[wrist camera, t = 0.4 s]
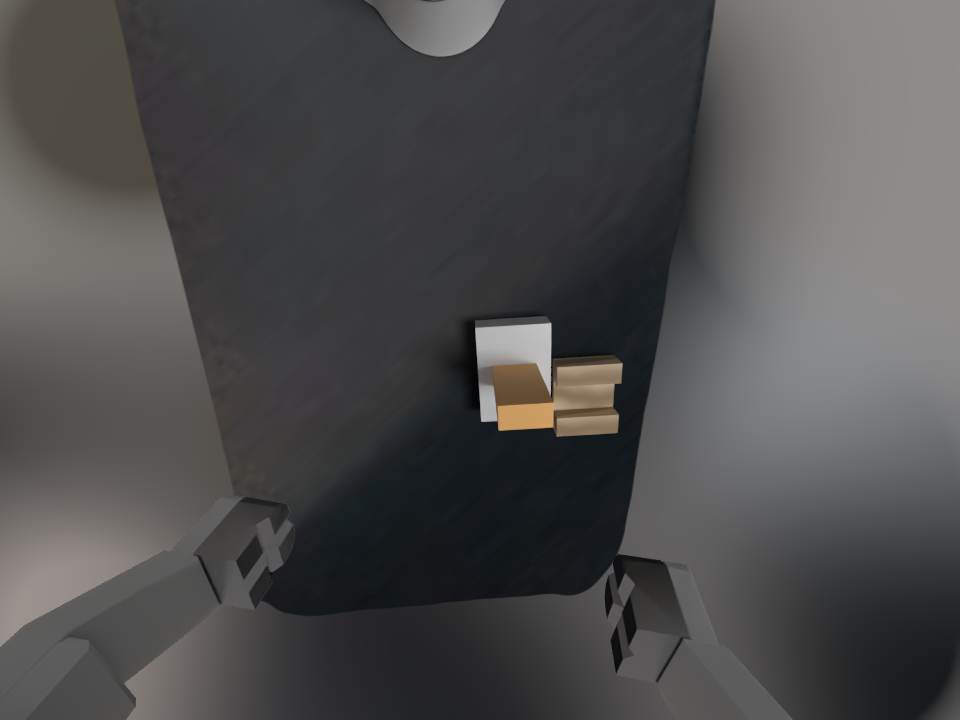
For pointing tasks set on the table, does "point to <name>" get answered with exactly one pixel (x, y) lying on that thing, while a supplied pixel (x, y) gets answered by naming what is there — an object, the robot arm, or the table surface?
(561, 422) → the rack
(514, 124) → the table surface
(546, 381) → the block
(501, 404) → the orange rectangular block
